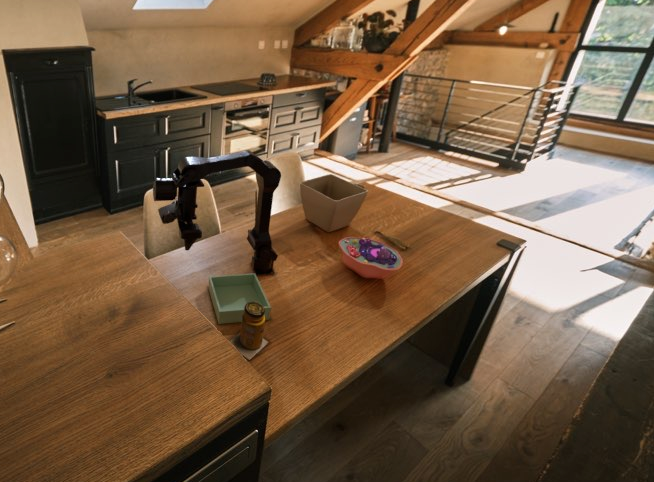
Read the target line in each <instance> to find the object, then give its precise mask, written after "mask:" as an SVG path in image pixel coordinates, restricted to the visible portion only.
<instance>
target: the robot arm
mask: <svg viewBox="0 0 654 482" xmlns="http://www.w3.org/2000/svg"><path fill="white" fill-rule="evenodd" d="M247 167H248V168H250V169H251V170H252V171H254V172H255V180H256V183H257V187H258V191H257V201H256V210H255V219H254V227H253V228H252V229H248V230H247V237H246V241H247V242H248V244H249V245H250V247H251V248H252V250H253V255H252V256H251V263H250V266H251V268H252V270H253V272H254V273H255V274H256V276H260V275H261V276H264V275H266V276H267V275H275V270H274V264H275V262H276V261H277V259H278V258H279V255H278V254H277V252H276V251H275V249H274V248H273V247H272V244H273V243H272V237H271V234H270V223H271V217H272V216H271V215H272V208H273V200H274V193H275V191H277V188H278V187H279V186H280V182H281V178H282V173H281V171H280V170H279V168H277V167H276V166H275V165H274V163H272V162H271V161H270V160H263V159H262V158H260V157H259V156H257V154H254V153H253V152H252V150H249V149H245V150H243V151H238V152H233V153H227V154H223V155H218V156H212V157H201V156H185V157H183V158H181V159H180V160H179V162H178V164H177V166H176V168H175V169H174V170H173V171H172V173H171V174H170V177H171V178H160V177H156V178H154V181H153V185H152V196H153V198H152V199H153V202H165V201H167V202H168V201H172V202H171V203H170V204H167V205H164V206H161V207H159V208H158V209H157V211H158V215H159V218H160V221H161V223H162V224H163V225H166V224H167V225H168V224H171V223H174V222H175V220H176V221H177V226H178V235H179V237H180V239H181V240H183V245H184V250H185V251H190V250H191V248H192V247H193V245H194V244H195V243H196V241H197V240H198V239H202V237H203V231H202V228H201V226H200V225H199V224H198V223H197V222H195V223H194V220H196V221H197V218H198V216H197V214H196V210H197V209H198V206H199V205H198V203H197V199H198V198H197V196H198V188H205V183H204V182H203V179H205V178H206V177H208V176H209V175H211V174H216V173H221V172H226V171H231V170H237V169H242V168H247ZM180 176H181V177H180Z"/></svg>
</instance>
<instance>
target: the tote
mask: <svg viewBox="0 0 654 482" xmlns="http://www.w3.org/2000/svg"><path fill="white" fill-rule="evenodd" d="M257 276H258V275H256V273H255V272H254V273H252V272H251V273H239V274H226V275H209V276H208V286H207V287H208V291H209V295H210V298H211V302H212V306H213V309H214V312H215V316H216V320H217V322H218V325H221V324H234V323H241V321H242V314H243V312H244V307H245V305H246V304H247V303H248V302H258V303H260V304H261V305H262V306H263V307H264V309H265V313H264V316H265V321H269V320H270V318H271V313H272V312H271V311H272V306H271V304H270V302H269V300H268V297H267V296H266V293H265V291H264V290H263V288H262V285H261V283H260V280H259V279H258V277H257Z"/></svg>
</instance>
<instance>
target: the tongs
mask: <svg viewBox="0 0 654 482" xmlns="http://www.w3.org/2000/svg"><path fill="white" fill-rule="evenodd" d="M374 233H375V234H378V235H379V236H382V237H383V238H385V239H387V241H390V242H391V243H392V244H393V245H396V246H397V247H399V248H400V249H402V250H404V251H405V250H406V248H407V249H408V248H409V247H410V245H409V243H405V242H404V241H402V240H401V239H399V238H397V237H394V236H390V235H387V234H385V233H382V232H381V231H378V230H375V231H374ZM401 244H402V245H403V246H402V245H401Z"/></svg>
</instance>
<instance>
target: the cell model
mask: <svg viewBox="0 0 654 482" xmlns="http://www.w3.org/2000/svg"><path fill="white" fill-rule="evenodd" d="M338 246H339V250H340V253H341V257H342V262H343V263H344V266H346V267H347V268H348V269H349V270H351V271H353V272H354V273H356V274H357V275H358V276H360V277H362V278H364V279H377V280H381V279H384V278H386V277H388V276H391V275H392V274H393V273H395V272H396V271H398V270H400V269H401V267H402V266H403V263H404V260H403V258H402V256H401V255H400V253H399V252H398V250H396V249H395V248H394V247H392V246H390V245H388V244H386V243H384V242H382V241H379V240H377V239H373V238H369V237H362V236H361V237H359V236H346V237H344V238H342V239H340V240H338Z"/></svg>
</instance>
